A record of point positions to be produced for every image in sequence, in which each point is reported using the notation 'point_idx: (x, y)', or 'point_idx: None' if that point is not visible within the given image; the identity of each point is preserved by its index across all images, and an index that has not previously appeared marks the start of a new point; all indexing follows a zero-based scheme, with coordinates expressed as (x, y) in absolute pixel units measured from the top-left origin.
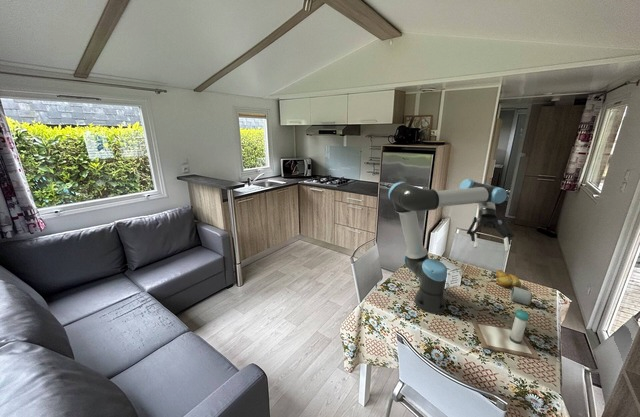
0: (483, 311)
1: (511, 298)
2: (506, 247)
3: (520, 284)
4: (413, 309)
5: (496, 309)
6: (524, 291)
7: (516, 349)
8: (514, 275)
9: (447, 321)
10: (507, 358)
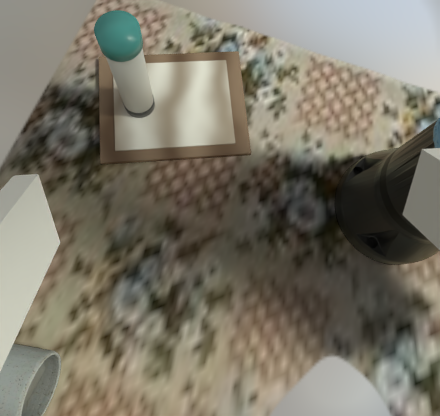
0: (200, 234)
1: (51, 386)
2: (32, 229)
3: None
4: None
5: (146, 267)
6: None
7: (150, 67)
8: None
9: (326, 132)
10: (182, 39)
